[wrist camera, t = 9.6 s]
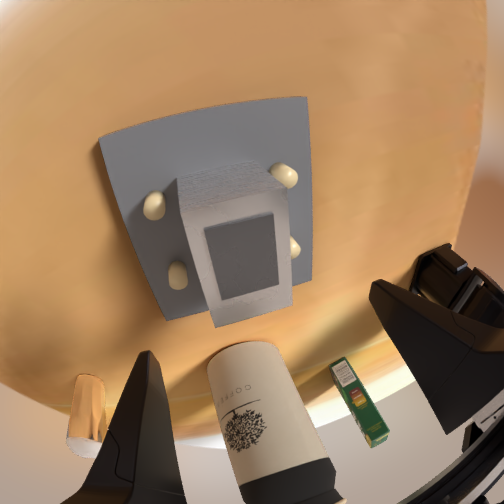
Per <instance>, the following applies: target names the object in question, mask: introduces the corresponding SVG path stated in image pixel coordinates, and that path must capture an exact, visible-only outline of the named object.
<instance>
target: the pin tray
mask: <svg viewBox="0 0 504 504" xmlns="http://www.w3.org/2000/svg"><path fill="white" fill-rule="evenodd" d="M98 139H99V143H100V147H101V150H102V154H103V158H104V161H105V165H106V168H107V172H108V175H109V178H110V182H111V185H112V188H113V191H114V194H115V197H116V200H117V203H118V206H119V209H120V212H121V215H122V218H123V221H124V223H125V226H126V229H127V231H128V234H129V237H130V239H131V242H132V244H133V247H134V250H135V252H136V255H137V257H138V259H139V262H140V264H141V267H142V269H143V271H144V274H145V276H146V278H147V281H148V283H149V285H150V287H151V290H152V292H153V294H154V296H155V298H156V300H157V303H158V305H159V307H160V309H161V311H162V313H163V315H164V317H165V319H166V321H169V320H173V319H177V318H181V317H185V316H189V315H193V314H197V313H201V312H204V311H208V310H209V308H208V305H207V301H206V298H205V295H204V292H203V289H202V286H201V283H200V279H199V276H198V273H197V270H196V266H195V263H194V260H193V256H192V253H191V249H190V246H189V242H188V239H187V235H186V232H185V228H184V224H183V221H182V217H181V213H180V206H179V196H178V187H177V177H180V176H184V175H188V174H192V173H196V172H201V171H205V170H209V169H214V168H218V167H223V166H227V165H232V164H237V163H242V162H247V161H255V162H256V163H257V164H259V165H260V166H261V167H262V168H264V169H265V170H266V171H267V172H269V173H270V174H271V175H272V176H274V177H275V178H276V179H277V180H278V181H280V182H281V183H282V184H283V185H284V186H286V187H287V194H288V210H289V227H290V247H291V271H292V286H295V285H298V284H301V283H305V282H308V281H311V280H312V238H313V221H312V172H311V149H310V131H309V116H308V103H307V97H301V96H298V97H283V98H271V99H261V100H252V101H245V102H237V103H231V104H224V105H218V106H213V107H207V108H202V109H197V110H192V111H187V112H183V113H179V114H174V115H170V116H166V117H162V118H158V119H155V120H151V121H147V122H144V123H140V124H137V125H134V126H131V127H127V128H124V129H121V130H118V131H115V132H112V133H109V134H106V135H104V136H102V137H100V138H98Z"/></svg>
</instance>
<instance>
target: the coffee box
mask: <svg viewBox="0 0 504 504" xmlns="http://www.w3.org/2000/svg"><path fill="white" fill-rule="evenodd" d="M329 368H330V371H331V374H332V377H333V380H334V382H335V385H336V387H337V388H338V390H339V392H340V394H341V395H342V397H343V399H344V401H345V403H346V404H347V406H348V408H349V410H350V412H351V414H352V415H353V417H354V419H355V421H356V423H357V425H358V426H359V428H360V430H361V432H362V434H363V435H364V437H365V439H366V441H367V443H368V444H369V446H370V448H373V447H375V446H377V445H379V444H381V443H382V442H384V441H386V440H387V437H388V434H389V432H390V430H389V428H388V427H387V425H386V423H385V422H384V420H383V418H382V416H381V415H380V413H379V411H378V410H377V408H376V406H375V405H374V403H373V401H372V400H371V398H370V396H369V395H368V393H367V391H366V389H365V388H364V386H363V384H362V383H361V381H360V380H359V378H358V376H357V375H356V373H355V371H354V370H353V368H352V367H351V365H350V364H349V362H348V361H347V359H346V358H345V357H343V358H342V359H340V360H338V361H336V362H334V363H333V364H331V365H329Z"/></svg>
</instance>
